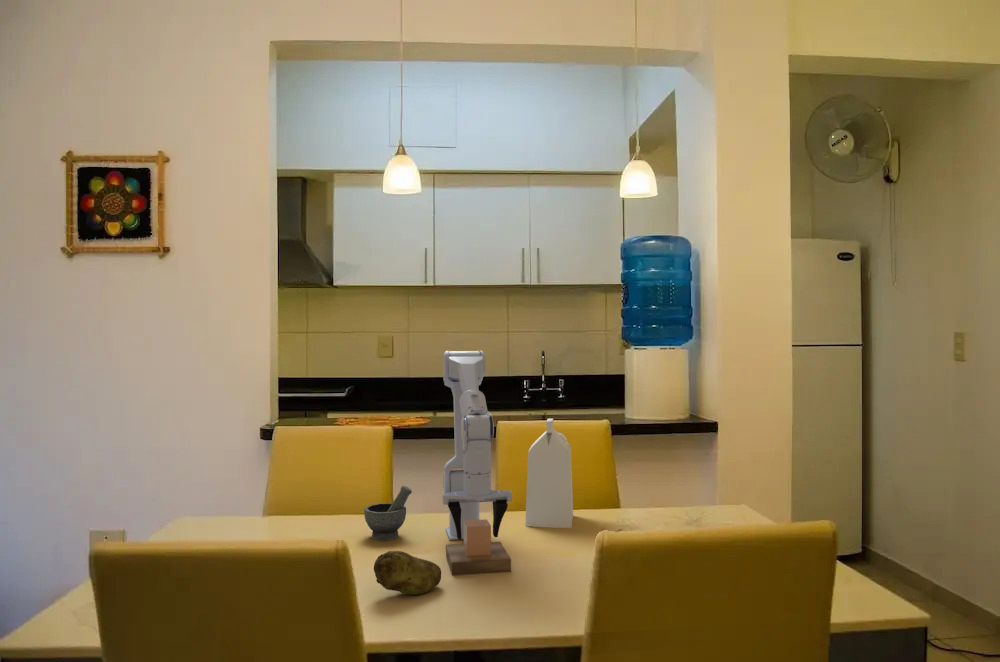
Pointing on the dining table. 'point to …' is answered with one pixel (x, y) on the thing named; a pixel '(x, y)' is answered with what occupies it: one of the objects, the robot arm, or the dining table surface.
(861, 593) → the dining table surface
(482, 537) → the terracotta block
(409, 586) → the potato
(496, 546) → the walnut base slab
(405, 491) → the mortar and pestle
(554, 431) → the milk
